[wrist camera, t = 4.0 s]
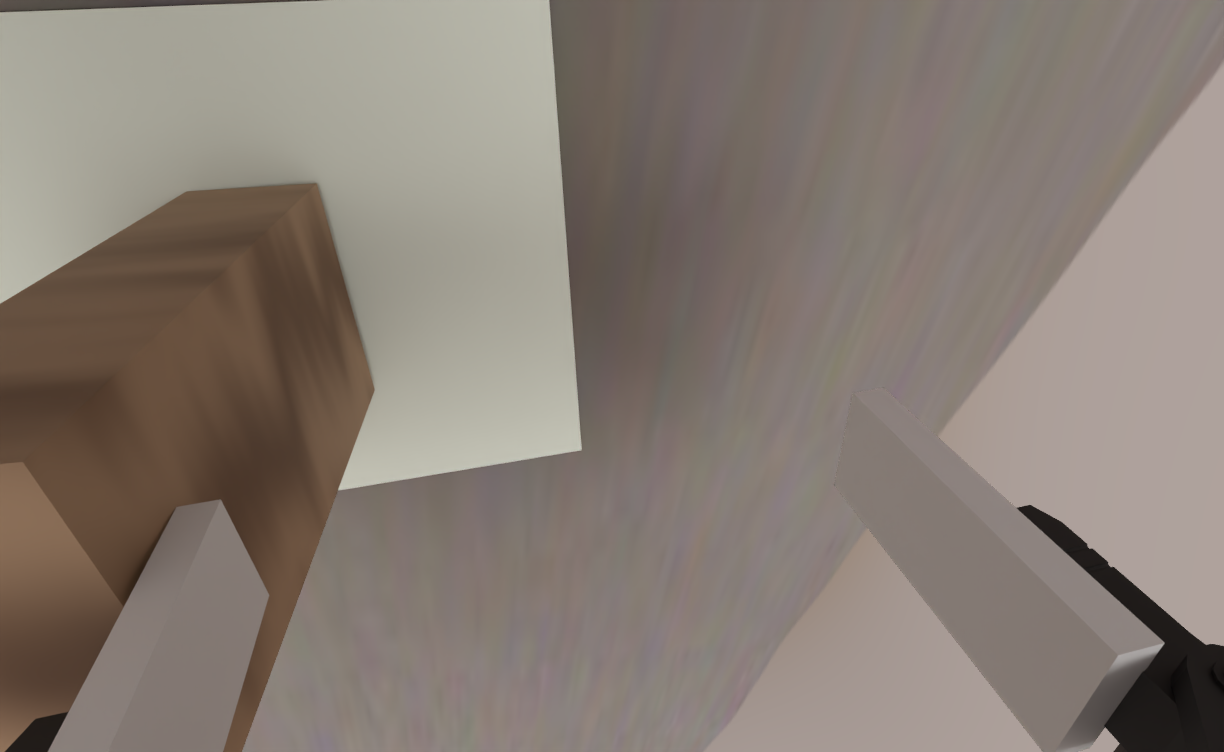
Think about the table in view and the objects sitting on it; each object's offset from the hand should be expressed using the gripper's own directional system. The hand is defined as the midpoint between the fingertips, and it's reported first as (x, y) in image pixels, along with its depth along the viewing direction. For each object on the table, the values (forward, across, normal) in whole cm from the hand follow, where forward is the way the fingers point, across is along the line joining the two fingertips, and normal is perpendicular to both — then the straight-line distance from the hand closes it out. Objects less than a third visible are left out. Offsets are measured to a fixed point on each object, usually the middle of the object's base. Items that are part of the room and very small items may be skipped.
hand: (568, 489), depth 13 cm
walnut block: (+12, -8, 0) cm, 15 cm away
